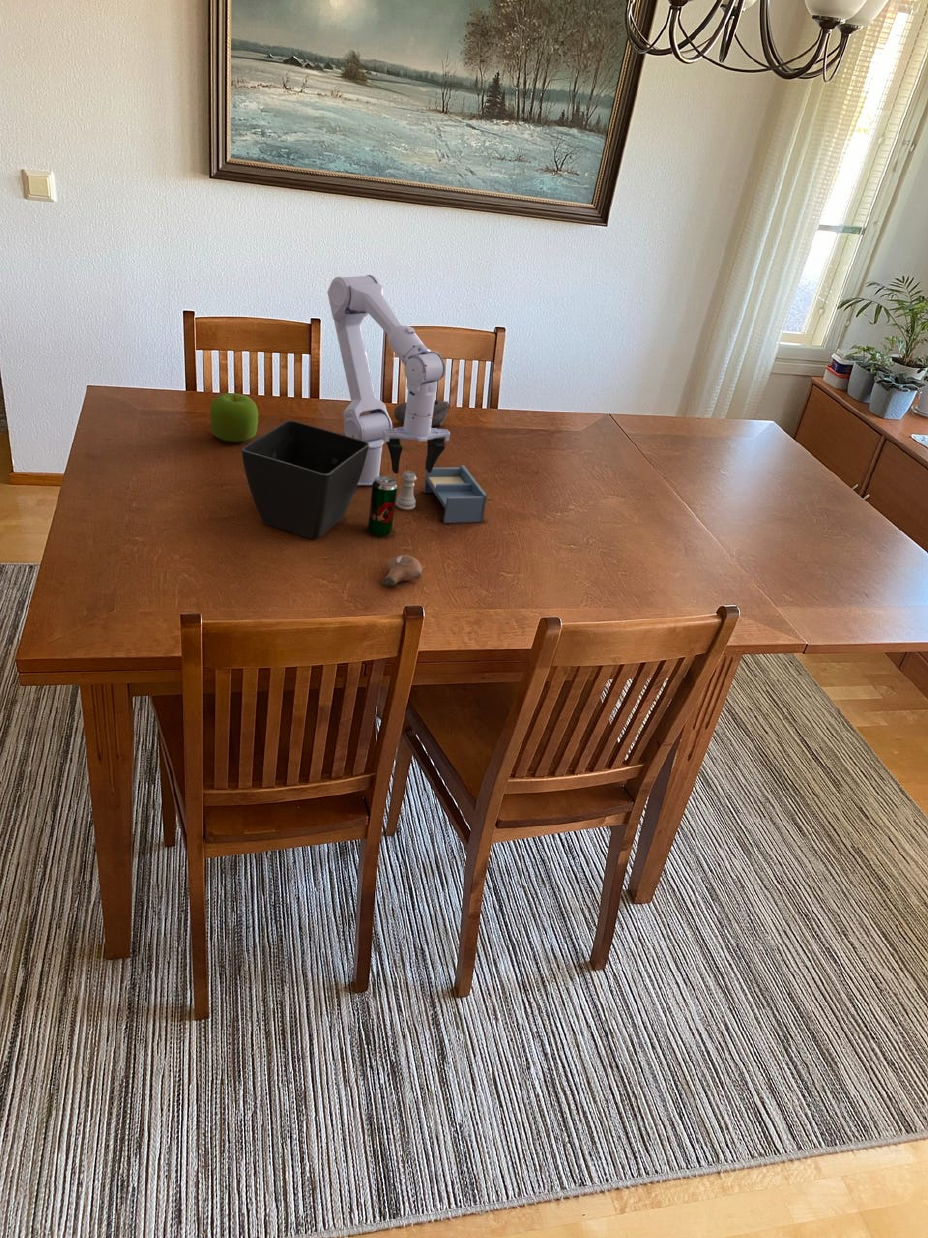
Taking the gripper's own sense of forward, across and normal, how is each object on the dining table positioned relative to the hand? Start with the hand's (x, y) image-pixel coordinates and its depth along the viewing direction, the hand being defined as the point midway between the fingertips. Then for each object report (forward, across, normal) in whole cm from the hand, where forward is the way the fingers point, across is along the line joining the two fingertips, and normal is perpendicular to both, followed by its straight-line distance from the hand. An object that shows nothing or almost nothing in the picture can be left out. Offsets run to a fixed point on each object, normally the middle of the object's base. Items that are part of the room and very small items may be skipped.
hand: (411, 471), depth 193 cm
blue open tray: (+9, +11, 0) cm, 14 cm away
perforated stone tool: (+8, +19, +45) cm, 49 cm away
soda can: (+9, -10, -11) cm, 17 cm away
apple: (+8, -32, +37) cm, 49 cm away
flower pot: (+9, -24, -4) cm, 26 cm away
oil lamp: (+9, -11, -28) cm, 32 cm away
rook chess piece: (+9, 0, 0) cm, 9 cm away
